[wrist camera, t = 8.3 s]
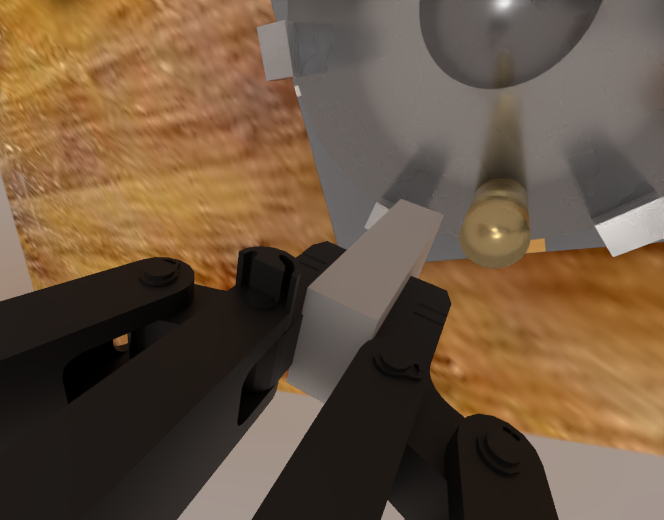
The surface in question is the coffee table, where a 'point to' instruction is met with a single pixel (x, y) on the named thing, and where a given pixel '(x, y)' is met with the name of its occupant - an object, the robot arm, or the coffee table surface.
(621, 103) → the grey metal round disc
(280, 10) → the plate
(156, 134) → the coffee table surface
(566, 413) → the coffee table surface
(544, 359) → the coffee table surface
